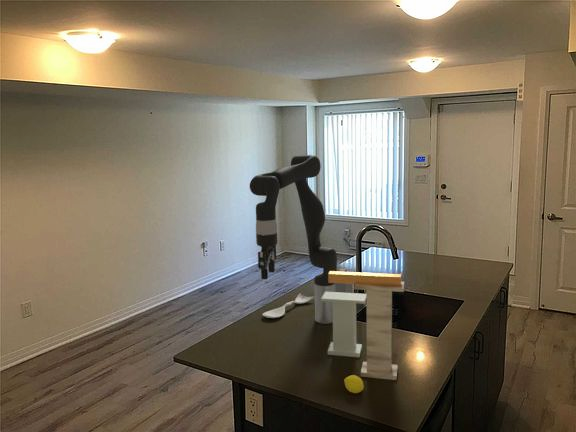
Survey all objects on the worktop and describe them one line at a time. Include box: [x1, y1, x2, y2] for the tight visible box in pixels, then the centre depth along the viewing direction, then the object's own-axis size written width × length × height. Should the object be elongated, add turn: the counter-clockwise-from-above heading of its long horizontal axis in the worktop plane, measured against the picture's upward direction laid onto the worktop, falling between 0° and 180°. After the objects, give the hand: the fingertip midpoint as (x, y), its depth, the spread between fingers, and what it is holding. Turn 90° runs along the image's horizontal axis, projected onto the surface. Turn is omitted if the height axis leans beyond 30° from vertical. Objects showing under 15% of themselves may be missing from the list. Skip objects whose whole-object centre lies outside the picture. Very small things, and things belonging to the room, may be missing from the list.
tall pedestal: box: [353, 280, 405, 381], centre depth 163 cm, size 8×16×32 cm, turn 75°
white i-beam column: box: [321, 292, 367, 358], centre depth 180 cm, size 8×16×22 cm, turn 75°
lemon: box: [343, 374, 364, 394], centre depth 153 cm, size 7×5×5 cm
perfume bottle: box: [335, 268, 353, 293], centre depth 229 cm, size 7×7×18 cm
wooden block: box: [328, 270, 402, 286], centre depth 161 cm, size 3×24×3 cm, turn 75°
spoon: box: [262, 292, 315, 319], centre depth 227 cm, size 9×32×4 cm, turn 142°
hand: (268, 275), depth 173 cm, fingers open, 8 cm apart
